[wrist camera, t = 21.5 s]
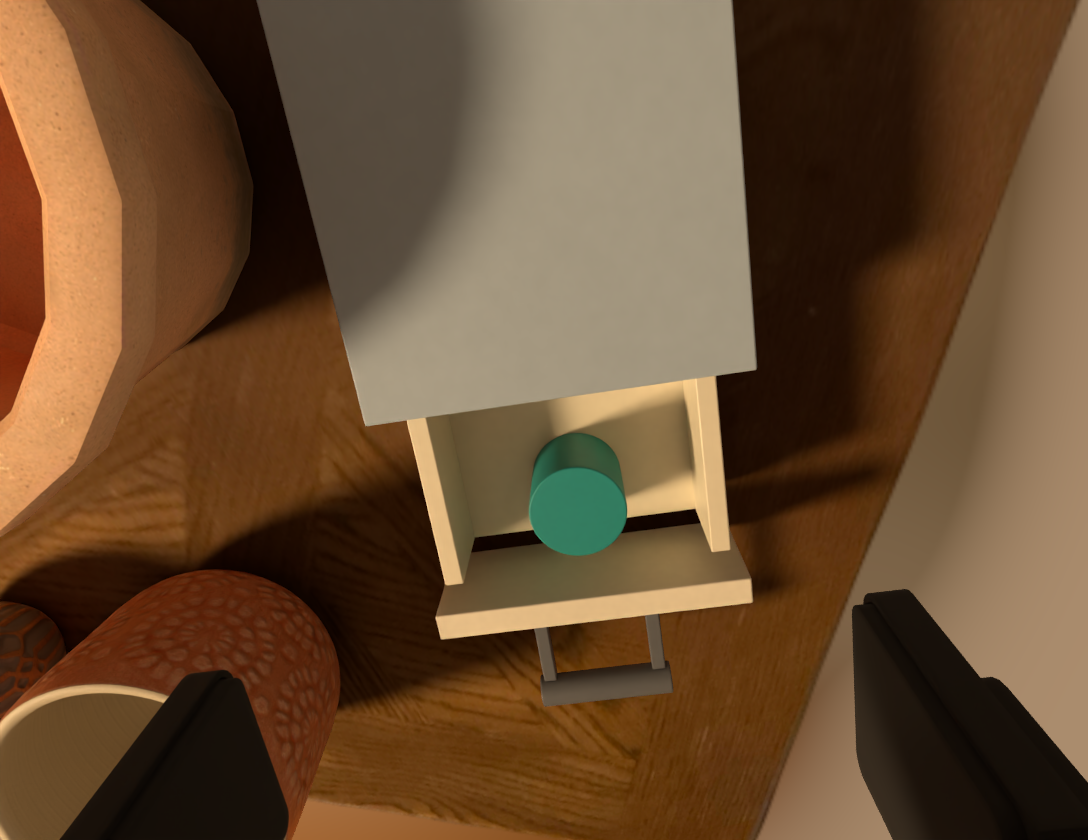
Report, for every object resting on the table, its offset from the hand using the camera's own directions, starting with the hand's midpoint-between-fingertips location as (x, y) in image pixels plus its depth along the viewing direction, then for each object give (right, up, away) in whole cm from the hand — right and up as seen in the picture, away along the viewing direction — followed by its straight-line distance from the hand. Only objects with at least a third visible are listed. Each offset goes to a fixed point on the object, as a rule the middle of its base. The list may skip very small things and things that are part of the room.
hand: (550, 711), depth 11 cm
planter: (-16, -7, +28) cm, 33 cm away
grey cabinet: (-1, +14, +20) cm, 25 cm away
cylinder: (+1, +2, +22) cm, 22 cm away
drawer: (+2, +1, +23) cm, 24 cm away
